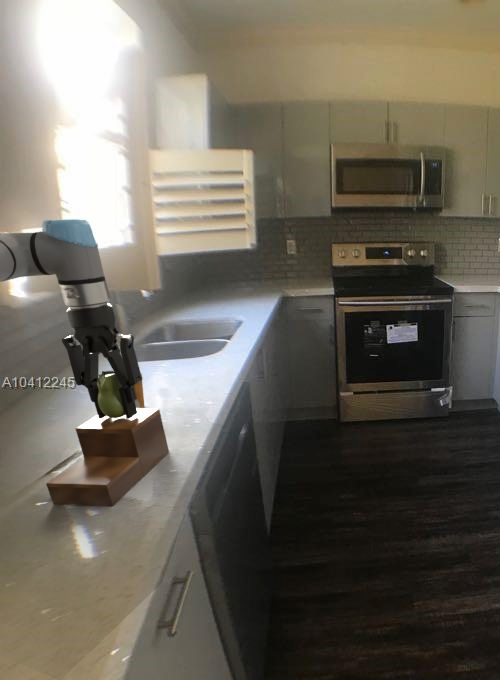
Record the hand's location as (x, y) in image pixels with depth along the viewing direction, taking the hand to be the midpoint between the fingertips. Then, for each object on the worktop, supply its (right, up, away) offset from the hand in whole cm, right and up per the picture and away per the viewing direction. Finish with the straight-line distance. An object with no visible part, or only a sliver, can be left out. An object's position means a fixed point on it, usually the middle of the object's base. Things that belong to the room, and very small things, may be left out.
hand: (118, 415), depth 95 cm
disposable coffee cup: (-12, -2, +28) cm, 31 cm away
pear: (0, 0, 0) cm, 0 cm away
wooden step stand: (0, -13, 0) cm, 13 cm away
